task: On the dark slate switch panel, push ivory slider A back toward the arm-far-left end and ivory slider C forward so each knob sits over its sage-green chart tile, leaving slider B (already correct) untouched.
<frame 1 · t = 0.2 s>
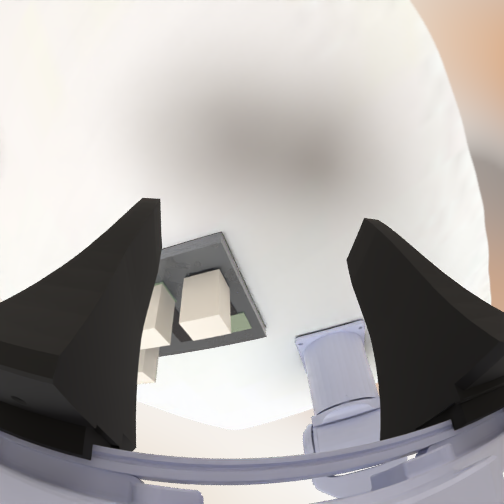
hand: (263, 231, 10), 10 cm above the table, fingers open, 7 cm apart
switch b: (149, 317, 23), point 4 cm above the table, slide at 3.0 cm
switch unit: (171, 305, 28), on the table
switch c: (139, 359, 28), point 4 cm above the table, slide at -3.0 cm
switch a: (206, 304, 23), point 4 cm above the table, slide at 3.0 cm
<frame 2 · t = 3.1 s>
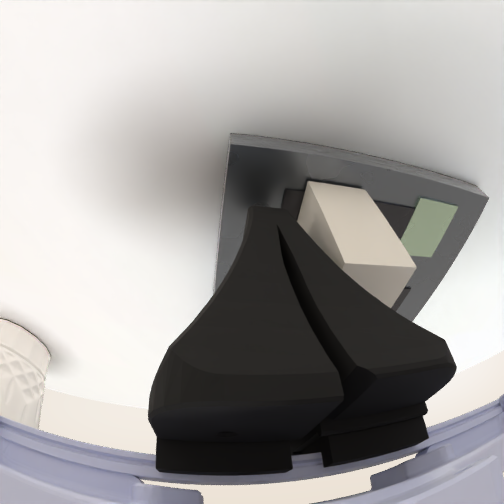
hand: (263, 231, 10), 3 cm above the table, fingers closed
switch unit: (333, 283, 16), on the table
white cup: (19, 339, 20), on the table
switch a: (343, 253, 10), point 4 cm above the table, slide at 2.4 cm, touching gripper
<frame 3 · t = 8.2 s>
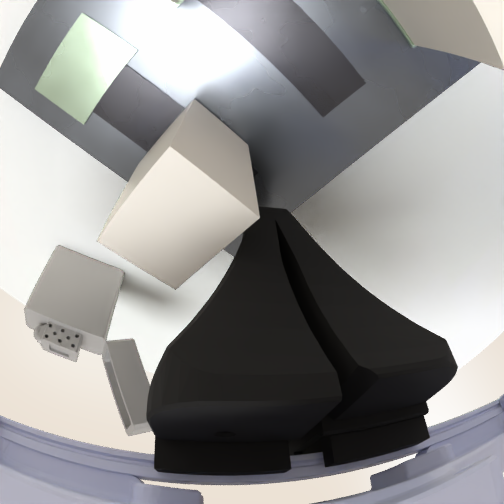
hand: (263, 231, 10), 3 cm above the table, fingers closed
switch unit: (251, 9, 8), on the table
switch c: (183, 182, 8), point 4 cm above the table, slide at -2.1 cm, touching gripper
switch a: (462, 1, 4), point 4 cm above the table, slide at -3.0 cm
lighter: (113, 275, 15), on the table
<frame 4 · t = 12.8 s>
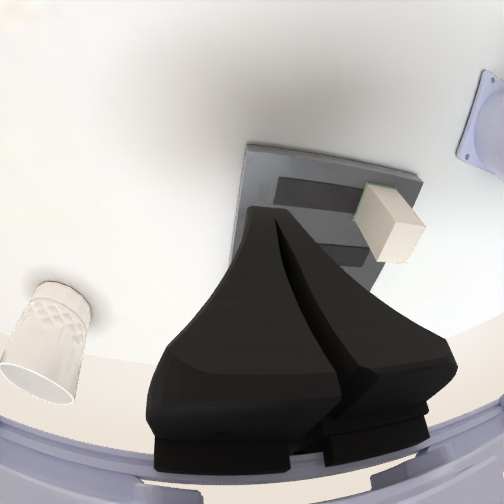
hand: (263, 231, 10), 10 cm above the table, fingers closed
switch unit: (314, 244, 24), on the table
white cup: (63, 301, 27), on the table
switch a: (387, 223, 19), point 4 cm above the table, slide at -3.0 cm
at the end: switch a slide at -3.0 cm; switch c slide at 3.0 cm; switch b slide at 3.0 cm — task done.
